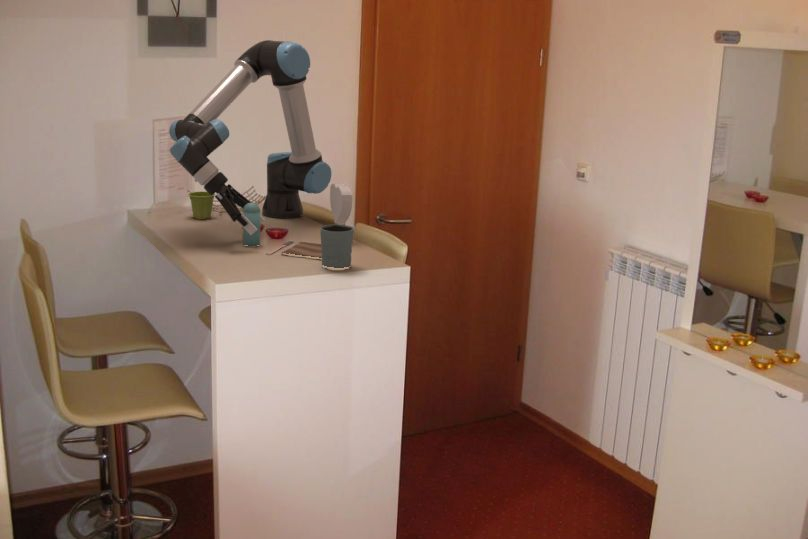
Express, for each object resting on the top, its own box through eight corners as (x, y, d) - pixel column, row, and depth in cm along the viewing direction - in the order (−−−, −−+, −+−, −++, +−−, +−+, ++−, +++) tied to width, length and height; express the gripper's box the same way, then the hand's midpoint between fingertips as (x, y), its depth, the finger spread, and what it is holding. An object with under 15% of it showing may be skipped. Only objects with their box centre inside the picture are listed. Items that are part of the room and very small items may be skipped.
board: (301, 244, 303) (301, 241, 302) (341, 248, 299) (341, 246, 299) (281, 255, 288) (281, 252, 287) (323, 260, 284) (323, 257, 284)
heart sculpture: (353, 243, 307) (354, 189, 302) (338, 243, 306) (339, 189, 301) (340, 232, 321) (342, 181, 316) (326, 232, 320) (328, 181, 315)
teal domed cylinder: (247, 241, 302) (247, 200, 299) (263, 243, 301) (263, 202, 297) (239, 245, 297) (239, 203, 293) (255, 247, 296) (255, 205, 292)
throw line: (289, 241, 305) (289, 240, 305) (293, 242, 304) (293, 241, 304) (265, 254, 288) (265, 253, 288) (270, 254, 288) (270, 253, 288)
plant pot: (212, 221, 329) (212, 197, 327) (185, 219, 329) (185, 195, 327) (217, 215, 338) (217, 192, 336) (192, 214, 338) (191, 190, 336)
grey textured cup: (325, 272, 271) (326, 232, 268) (314, 263, 280) (315, 224, 277) (357, 270, 275) (359, 230, 272) (346, 261, 284) (347, 223, 281)
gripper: (212, 180, 306) (257, 226, 310) (193, 193, 282) (242, 244, 286) (228, 164, 305) (273, 211, 309) (210, 177, 281) (259, 228, 284)
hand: (258, 227), depth 297 cm, fingers open, 13 cm apart
